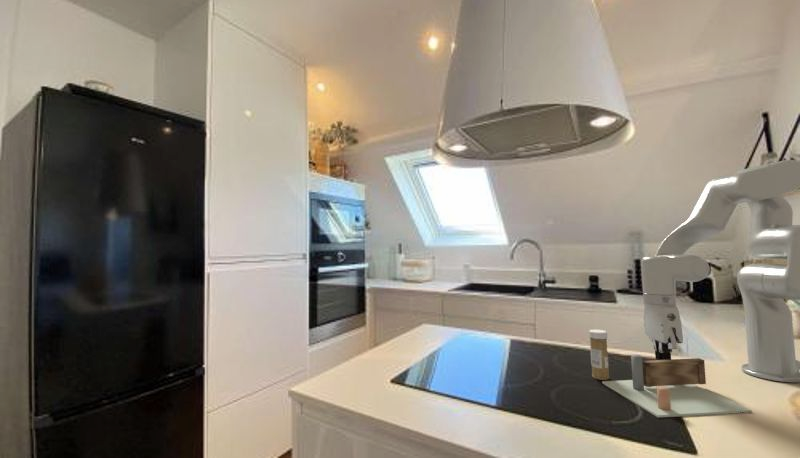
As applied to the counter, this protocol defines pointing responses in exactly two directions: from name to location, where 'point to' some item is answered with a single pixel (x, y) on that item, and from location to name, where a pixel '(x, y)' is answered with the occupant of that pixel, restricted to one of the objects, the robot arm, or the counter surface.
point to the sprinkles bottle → (599, 354)
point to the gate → (673, 372)
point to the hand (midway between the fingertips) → (663, 365)
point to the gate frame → (671, 396)
